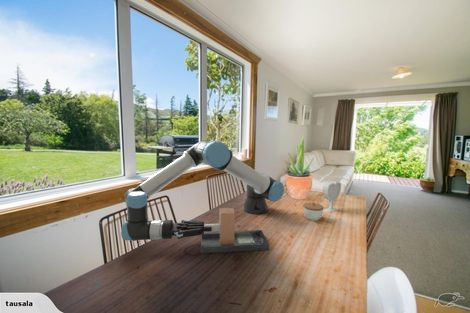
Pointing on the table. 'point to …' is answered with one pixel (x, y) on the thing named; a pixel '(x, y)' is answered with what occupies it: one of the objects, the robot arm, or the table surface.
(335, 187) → the heart sculpture
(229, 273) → the table surface
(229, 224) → the terracotta block
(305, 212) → the lidded jar
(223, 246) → the grey tray
